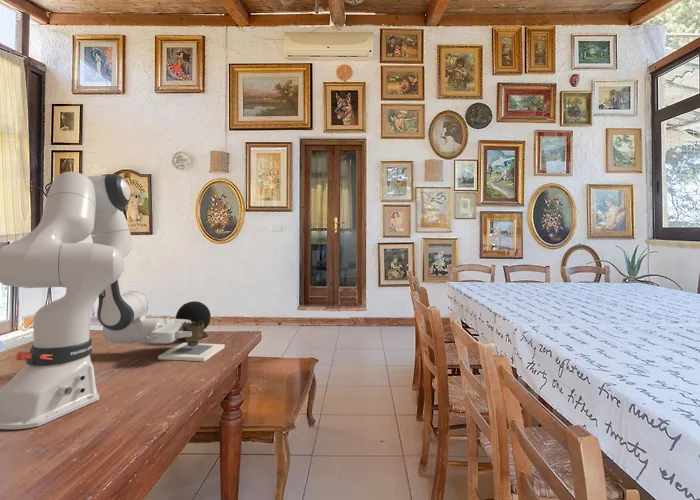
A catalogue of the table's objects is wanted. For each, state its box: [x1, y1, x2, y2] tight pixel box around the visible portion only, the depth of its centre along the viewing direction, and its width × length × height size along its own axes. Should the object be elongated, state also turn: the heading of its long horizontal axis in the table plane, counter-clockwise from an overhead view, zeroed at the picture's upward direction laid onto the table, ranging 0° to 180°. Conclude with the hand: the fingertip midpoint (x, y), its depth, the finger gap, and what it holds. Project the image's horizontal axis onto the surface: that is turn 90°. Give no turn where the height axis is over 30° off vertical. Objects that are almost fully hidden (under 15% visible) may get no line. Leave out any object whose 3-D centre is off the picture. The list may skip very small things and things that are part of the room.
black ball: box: [175, 300, 212, 343], centre depth 151 cm, size 13×13×15 cm
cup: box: [182, 321, 205, 346], centre depth 131 cm, size 8×7×8 cm
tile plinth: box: [157, 342, 226, 362], centre depth 131 cm, size 16×16×2 cm
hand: (196, 330), depth 131 cm, fingers closed on cup, 7 cm apart
